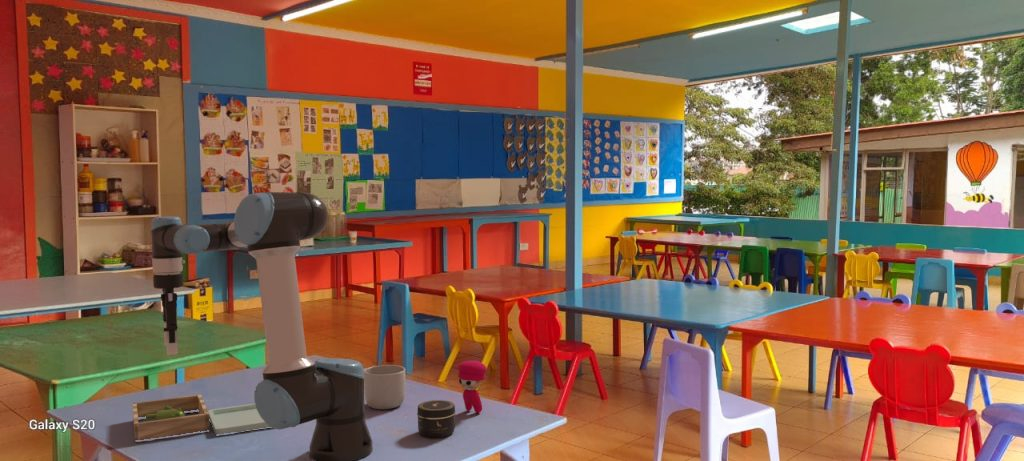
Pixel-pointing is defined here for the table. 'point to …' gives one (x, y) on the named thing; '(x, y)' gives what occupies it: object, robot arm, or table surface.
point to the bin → (172, 424)
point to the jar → (436, 418)
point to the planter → (384, 386)
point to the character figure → (166, 414)
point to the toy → (471, 383)
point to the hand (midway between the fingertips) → (170, 349)
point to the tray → (236, 419)
